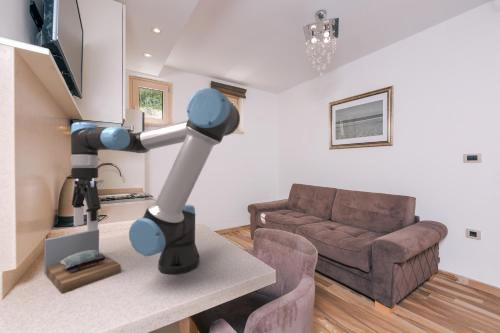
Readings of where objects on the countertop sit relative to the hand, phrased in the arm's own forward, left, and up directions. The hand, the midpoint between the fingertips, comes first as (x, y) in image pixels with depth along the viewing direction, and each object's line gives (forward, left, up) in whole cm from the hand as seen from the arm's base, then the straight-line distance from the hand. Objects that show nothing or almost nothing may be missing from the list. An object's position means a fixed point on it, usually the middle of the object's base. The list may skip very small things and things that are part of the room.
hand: (85, 227), depth 74 cm
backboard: (+12, 0, -16) cm, 20 cm away
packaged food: (0, 0, -14) cm, 14 cm away
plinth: (0, 0, -16) cm, 16 cm away
